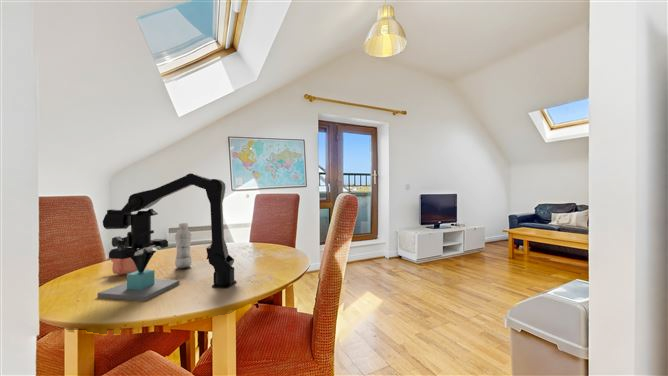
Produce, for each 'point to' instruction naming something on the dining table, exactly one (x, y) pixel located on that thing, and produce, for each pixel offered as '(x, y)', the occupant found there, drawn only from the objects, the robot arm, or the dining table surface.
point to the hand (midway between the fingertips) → (141, 272)
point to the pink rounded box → (123, 266)
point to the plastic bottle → (183, 246)
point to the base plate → (138, 291)
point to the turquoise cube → (140, 279)
